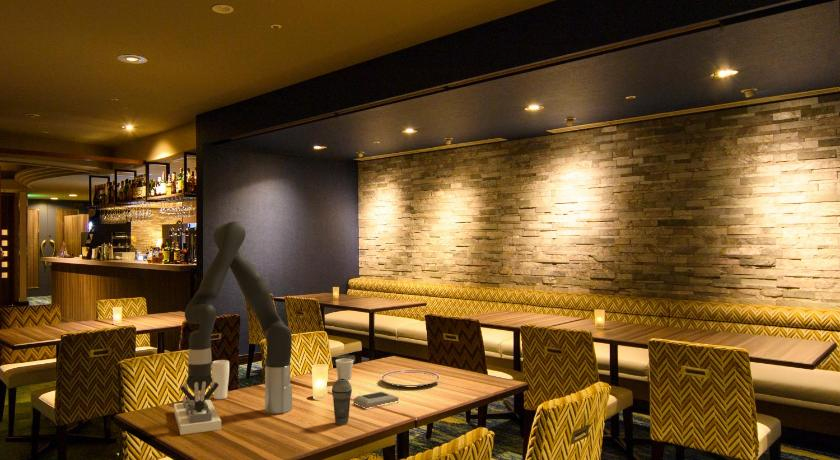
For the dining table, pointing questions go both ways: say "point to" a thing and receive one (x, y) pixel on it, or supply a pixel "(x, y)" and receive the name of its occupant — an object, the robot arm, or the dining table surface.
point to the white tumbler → (220, 378)
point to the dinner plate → (410, 372)
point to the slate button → (192, 403)
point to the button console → (196, 418)
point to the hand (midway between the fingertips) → (199, 411)
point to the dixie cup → (344, 368)
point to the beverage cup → (341, 399)
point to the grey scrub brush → (374, 399)
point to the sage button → (199, 412)
